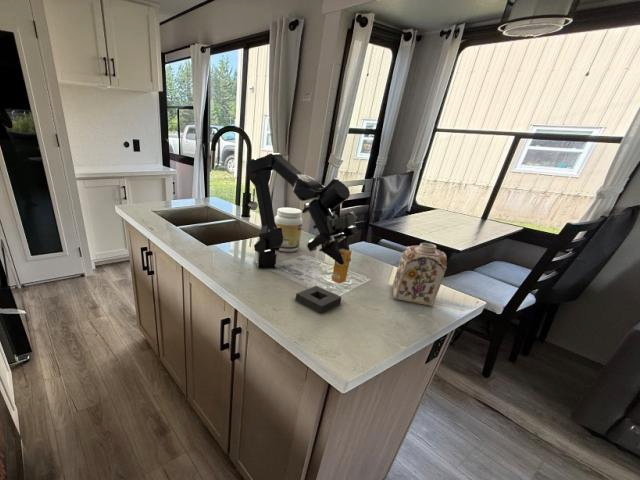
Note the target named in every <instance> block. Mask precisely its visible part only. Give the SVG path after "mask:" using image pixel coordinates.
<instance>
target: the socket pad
mask: <svg viewBox="0 0 640 480" xmlns="http://www.w3.org/2000/svg"><path fill="white" fill-rule="evenodd" d="M294 301H295V302H297V303H299V304H301V305H303V306H305V307H307V308H309V309H311V310H312V311H314V312H317V313H319V315H320V314H323V313H324V312H326V311H329V310H331V309H333V308H335V307H337V306H339V305H341V303H342V302H341V301H342V296H341V295H338V294H336V293H333V292H331V291H329V290H327V289H325V288H323V287H321V286H318V285H313V286H312V287H308V288H307V289H304V290H301V291H299V292H297V293H296V294H295V300H294Z"/></svg>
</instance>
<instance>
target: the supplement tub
mask: <svg viewBox="0 0 640 480" xmlns="http://www.w3.org/2000/svg"><path fill="white" fill-rule="evenodd" d="M276 211H277V212H276V215H275V216H274V219H275V224H276V225H277V226H278V228H279V227H281V228H282V234H283V237H284V238H283V243H282V245H281V246H280V249H279V250H278V252H285V253H293V252H296V251H298V250H299V248H300V243H301V236H302V228H303V223H304V222H303V221H304V219H303V218H302V215H303V213H302V211H303V210H301V209H299V208H294V207H279V208H277V210H276Z"/></svg>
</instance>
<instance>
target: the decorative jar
mask: <svg viewBox="0 0 640 480" xmlns="http://www.w3.org/2000/svg"><path fill="white" fill-rule="evenodd" d="M447 257H448V256H447V254H446V253H445V252H444V251H442V250H440V249H437V245H436V244H433V243H429V242H421V243H420V244H419V245H410V246H409V245H408V246H406V248H404V249H403V250H402V253H401V256H400V260H399V263H398V265H397V269H396V272H395V276H394V278H393V283H392V290H393V299H395V300H399V301H403V302H408V303H413V304H417V305H424V306H429V307H432V306H433V305H434V303H435V302H436V301H435V300H436V298H437V296H438V293H439V291H440V288H441V285H442V282H443V279H444V276H445V274H446V271H447V268H448V267H447V266H448V262H447V260H448V259H447Z"/></svg>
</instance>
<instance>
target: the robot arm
mask: <svg viewBox="0 0 640 480" xmlns="http://www.w3.org/2000/svg"><path fill="white" fill-rule="evenodd" d="M272 171H275V172H276V173H277V174H278V175H279V176H280V177H281V178H282V179H284V180H285V182H287V183H288V184H289V185H290V186H291V188H292V193H293V194H294V195H295V196H296V198H297V199H298V200H299V201H301V202H305V201H306V202H307V201H310V202H308V203H304V204H303V208H302V210H301V211H302V214H307V213H309V215H310V218H311V219H312V221H313V224H314V225H313V226H312V227H313V229H314V230H317V231H318V233H319V234H317V235H316V236H314V237H313V238H311V239H309V241H308V242H307V244H306V247H307V249H308V252H314V251H316V250H317V249H318V247H320V246H321V248H319V250H318V251H319V252H322V253H324V254H325V255H327V256H328V257H329V258H331V259H332V260H334V262H335V261H336V262H338V263H339V264H340V265H342V264H344V261H343V258H342V256H341V253H340V251H339V250H341V249H346V250H349V251H350V242H351V238H353V236H355V235H357V234H359V229H358V227H357V226H356V225H357V224H356V222H357V220H358V216H357V215H356V213H355V212H354V211H349V212H345V214H344V216H341V217H339V216H338V215H337V214H333V213H332V211H331V210H335V209H336V208H338V207H339V206H340V205H342V204H343V203H344V202H345V201H347V200H348V199H349V198H350V196H351V191H350V189H349V187H348V186H346V185H345V184H344V183H343V182H342V181H340V179H339V178H332V180H330V181H329V183H327V184H326V186H325V185H323V184H322V183H321V181H319V180H318V179H316V178H314V177H312V176H309V175H306V174H304V173H302V172H301V171H300V170H299V169H297V167H295V165H293V164H292V163H290V162H289V161H288V160H287V159H286V158H285V157H284V156H283V155H282V154H281V153H279V152H278V153H276V152H275V153H268V154H266V155H264V156H261V157H258V158H251V159H249V161H248V163H247V165H246V172H247V176H248V178H249V181H250V182H251V183H252V184H253V186H254V188H255V194H256V195H255V196H256V200H257V205H258V206H257V207H258V212H259V218H260V223H261V228H260V231H259V233H258V237H259V238H258V239H259V240H258V241H256V242H255V244H254V245H253V249H254V251H255V252H256V253H257V260H256V261H255V263H256V265H257V268H258V269H276V265H277V254H276V251H278V252H279V249H280V246H281V245H282V243H283V238H284V237H283V234H282V228H281V227H279V228H278V226H277V225H276V224H275V213H274V208H273V202H272V195H271V189H270V180H271V178H272ZM351 257H352V256H351ZM351 257H350V262H351V261H352V258H351Z"/></svg>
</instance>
